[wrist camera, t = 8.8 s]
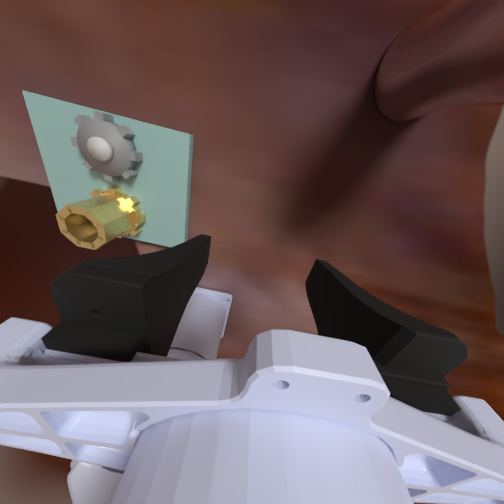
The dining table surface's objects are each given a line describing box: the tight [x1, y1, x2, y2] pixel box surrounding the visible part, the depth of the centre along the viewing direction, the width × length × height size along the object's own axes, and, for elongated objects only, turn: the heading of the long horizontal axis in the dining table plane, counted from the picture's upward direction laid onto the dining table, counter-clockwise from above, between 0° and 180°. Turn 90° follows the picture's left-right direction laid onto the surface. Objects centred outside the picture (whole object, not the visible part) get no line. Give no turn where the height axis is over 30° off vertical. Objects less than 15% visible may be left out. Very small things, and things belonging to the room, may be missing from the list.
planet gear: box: [56, 186, 146, 250], centre depth 18 cm, size 5×5×5 cm
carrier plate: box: [22, 90, 194, 247], centre depth 18 cm, size 12×14×4 cm
